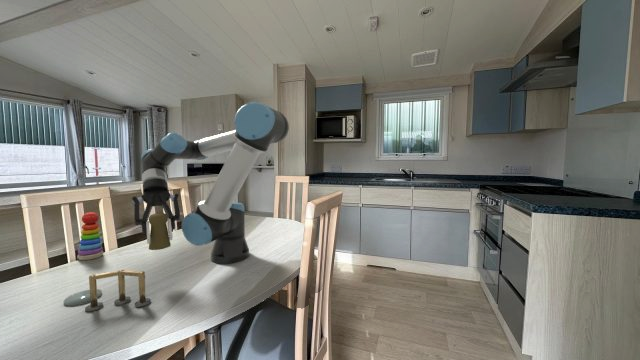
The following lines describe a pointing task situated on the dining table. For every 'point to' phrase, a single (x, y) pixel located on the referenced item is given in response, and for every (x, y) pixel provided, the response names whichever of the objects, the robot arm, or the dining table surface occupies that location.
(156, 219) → the cork
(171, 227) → the robot arm
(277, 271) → the dining table surface
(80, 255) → the stacking toy
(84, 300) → the coaster
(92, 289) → the rail
